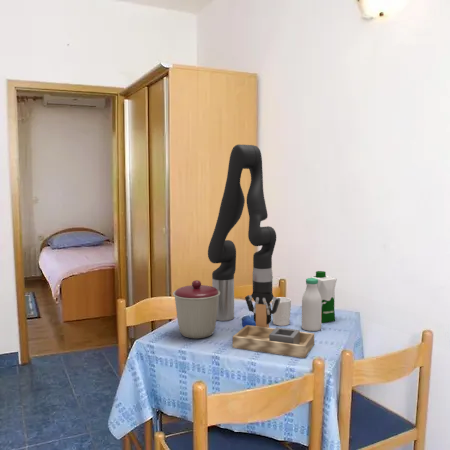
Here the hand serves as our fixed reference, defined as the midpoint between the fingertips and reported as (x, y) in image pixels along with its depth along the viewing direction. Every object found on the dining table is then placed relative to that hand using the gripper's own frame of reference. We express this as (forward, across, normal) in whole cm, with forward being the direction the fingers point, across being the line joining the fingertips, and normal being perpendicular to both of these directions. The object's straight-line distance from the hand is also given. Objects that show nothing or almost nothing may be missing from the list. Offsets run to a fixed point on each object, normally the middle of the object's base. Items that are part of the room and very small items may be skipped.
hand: (262, 322), depth 183 cm
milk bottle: (+5, +16, +13) cm, 21 cm away
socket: (+4, +12, -11) cm, 17 cm away
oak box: (+4, +8, -11) cm, 14 cm away
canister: (+4, -23, -10) cm, 25 cm away
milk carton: (+5, +18, +26) cm, 32 cm away
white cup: (+5, +3, +15) cm, 16 cm away
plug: (+4, 0, 0) cm, 4 cm away
